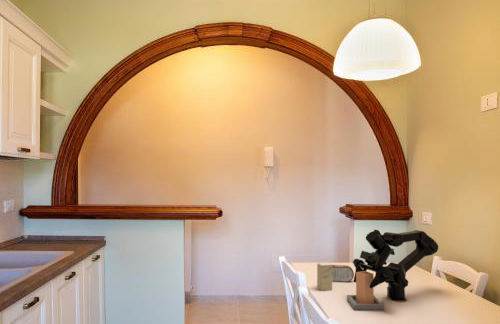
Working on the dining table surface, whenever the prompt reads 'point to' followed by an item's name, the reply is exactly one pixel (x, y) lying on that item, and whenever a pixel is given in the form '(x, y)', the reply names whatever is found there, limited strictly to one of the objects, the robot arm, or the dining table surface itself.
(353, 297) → the tray
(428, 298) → the dining table surface
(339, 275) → the tin
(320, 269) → the skincare box
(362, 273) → the peach square prism
